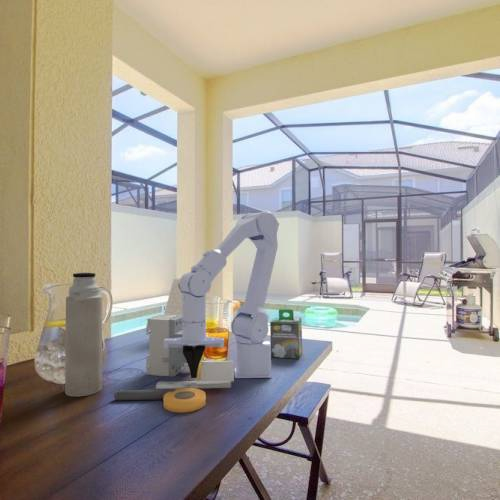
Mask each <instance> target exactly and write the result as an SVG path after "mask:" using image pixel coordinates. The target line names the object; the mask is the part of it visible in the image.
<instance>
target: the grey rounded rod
mask: <svg viewBox="0 0 500 500" xmlns="http://www.w3.org/2000/svg"><path fill="white" fill-rule="evenodd" d="M174 391H176V389H136V390H135V389H132V390H131V389H129V390H116V391H115V392H114V393H113V399H115V401H139V400H140V401H142V400H143V401H147V400H151V401H152V400H163V397H164V395H165V394H166V393H168V392H174Z"/></svg>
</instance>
